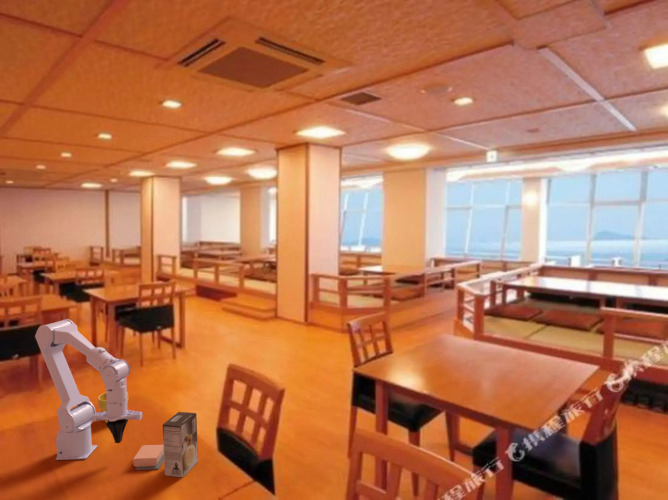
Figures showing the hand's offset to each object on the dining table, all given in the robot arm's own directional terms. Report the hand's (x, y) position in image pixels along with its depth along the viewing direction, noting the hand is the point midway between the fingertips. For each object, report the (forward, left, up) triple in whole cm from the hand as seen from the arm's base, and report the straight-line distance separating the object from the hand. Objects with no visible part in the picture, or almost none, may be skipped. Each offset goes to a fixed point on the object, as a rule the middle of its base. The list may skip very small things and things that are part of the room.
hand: (118, 441), depth 142 cm
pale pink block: (+6, -1, -4) cm, 8 cm away
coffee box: (+21, -6, -6) cm, 23 cm away
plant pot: (-14, +29, -6) cm, 33 cm away
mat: (+11, -1, -6) cm, 12 cm away
